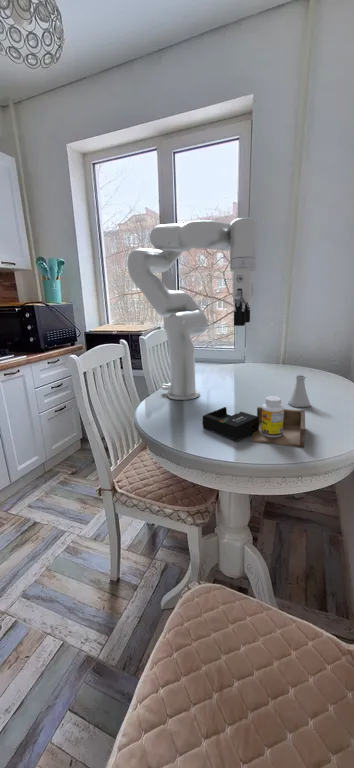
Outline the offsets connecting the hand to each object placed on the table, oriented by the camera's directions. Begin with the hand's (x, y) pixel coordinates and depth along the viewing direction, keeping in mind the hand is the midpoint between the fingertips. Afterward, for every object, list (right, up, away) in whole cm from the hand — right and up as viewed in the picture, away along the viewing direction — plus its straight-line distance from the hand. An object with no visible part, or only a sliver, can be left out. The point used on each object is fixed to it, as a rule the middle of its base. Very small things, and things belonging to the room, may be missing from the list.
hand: (242, 323), depth 99 cm
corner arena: (+8, -32, -11) cm, 35 cm away
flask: (+22, -26, +11) cm, 35 cm away
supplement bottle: (+5, -32, -12) cm, 35 cm away
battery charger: (-5, -32, -8) cm, 33 cm away
